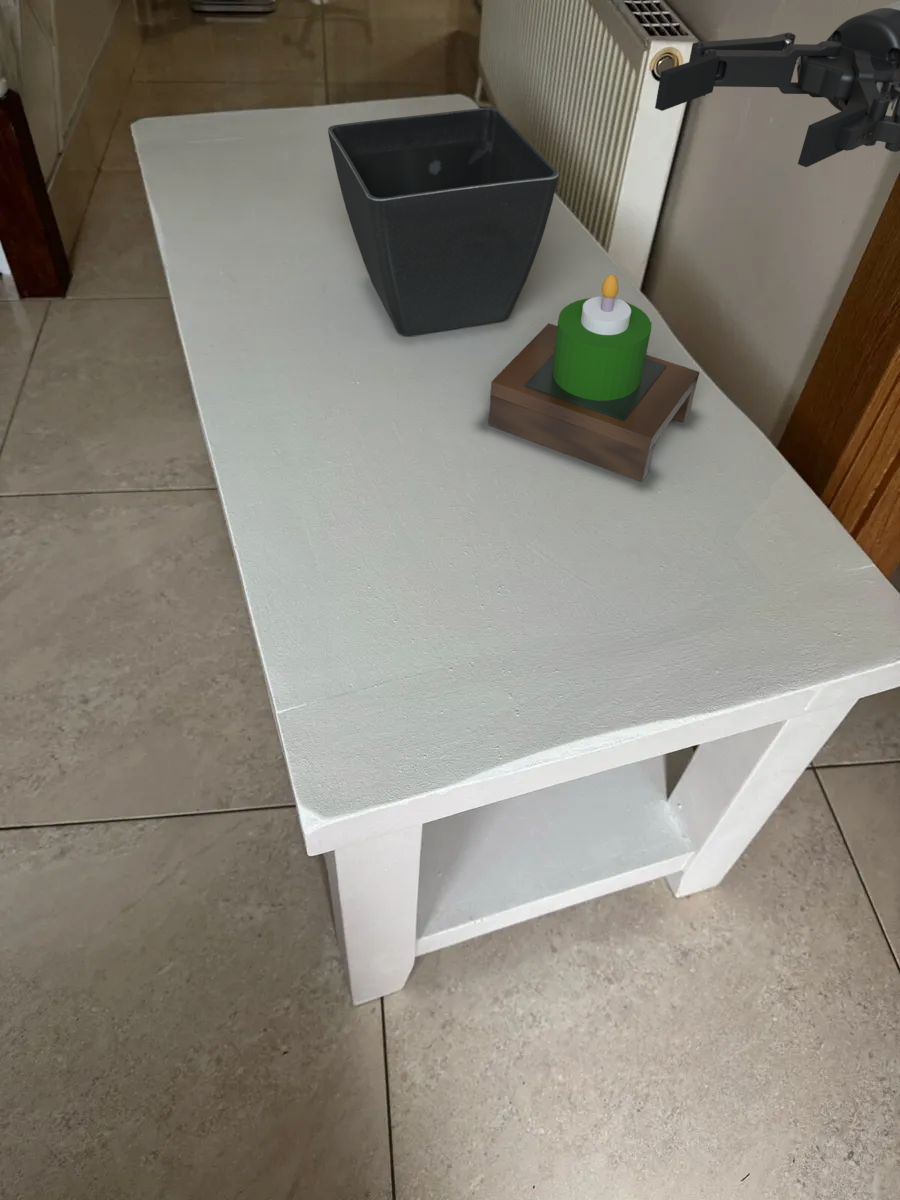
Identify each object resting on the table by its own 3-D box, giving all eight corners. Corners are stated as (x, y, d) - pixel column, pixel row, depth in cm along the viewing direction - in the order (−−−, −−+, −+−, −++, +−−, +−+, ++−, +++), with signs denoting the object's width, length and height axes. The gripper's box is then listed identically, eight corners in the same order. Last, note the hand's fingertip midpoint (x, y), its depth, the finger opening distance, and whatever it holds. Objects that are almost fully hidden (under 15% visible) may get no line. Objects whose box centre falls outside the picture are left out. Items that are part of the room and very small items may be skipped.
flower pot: (336, 272, 109) (324, 121, 97) (488, 250, 113) (496, 103, 101) (377, 359, 97) (370, 200, 85) (546, 332, 101) (562, 176, 89)
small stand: (688, 414, 92) (700, 369, 88) (641, 482, 85) (651, 436, 81) (543, 365, 97) (548, 320, 93) (488, 425, 90) (491, 379, 86)
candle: (656, 369, 88) (677, 270, 80) (613, 411, 83) (632, 311, 76) (580, 340, 91) (594, 242, 84) (535, 379, 86) (545, 279, 79)
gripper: (1000, 149, 77) (858, 225, 67) (751, 64, 89) (602, 119, 79) (1044, 48, 71) (897, 115, 62) (773, -27, 84) (615, 19, 74)
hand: (730, 117), depth 70 cm, fingers open, 13 cm apart
